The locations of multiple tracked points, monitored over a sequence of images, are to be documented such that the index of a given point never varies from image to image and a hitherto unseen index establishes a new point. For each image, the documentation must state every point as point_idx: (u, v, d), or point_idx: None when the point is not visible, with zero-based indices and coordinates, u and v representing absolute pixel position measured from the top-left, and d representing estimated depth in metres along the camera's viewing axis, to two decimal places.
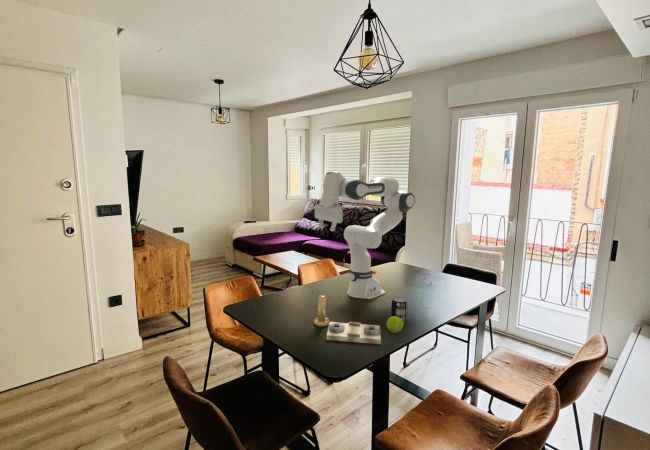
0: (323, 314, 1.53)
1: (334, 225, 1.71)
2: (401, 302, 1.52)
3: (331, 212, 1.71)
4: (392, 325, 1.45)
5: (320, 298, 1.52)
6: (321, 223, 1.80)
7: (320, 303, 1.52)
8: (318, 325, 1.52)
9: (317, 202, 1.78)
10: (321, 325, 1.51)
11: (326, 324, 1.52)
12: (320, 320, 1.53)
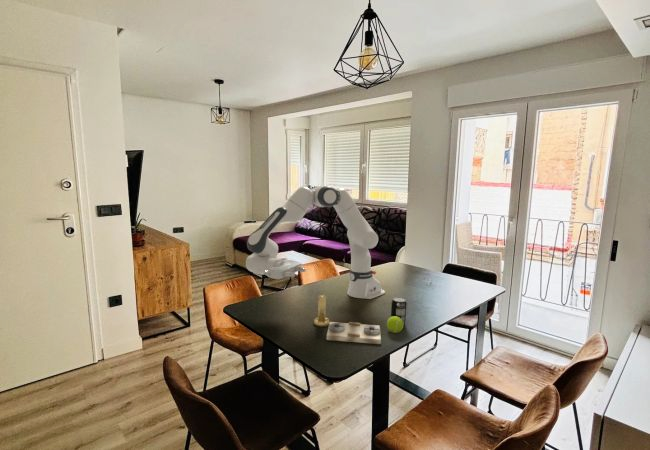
0: (323, 314, 1.53)
1: (286, 274, 1.53)
2: (401, 302, 1.52)
3: None
4: (392, 325, 1.45)
5: (320, 298, 1.52)
6: (301, 269, 1.63)
7: (320, 303, 1.52)
8: (318, 325, 1.52)
9: None
10: (321, 325, 1.51)
11: (326, 324, 1.52)
12: (320, 320, 1.53)
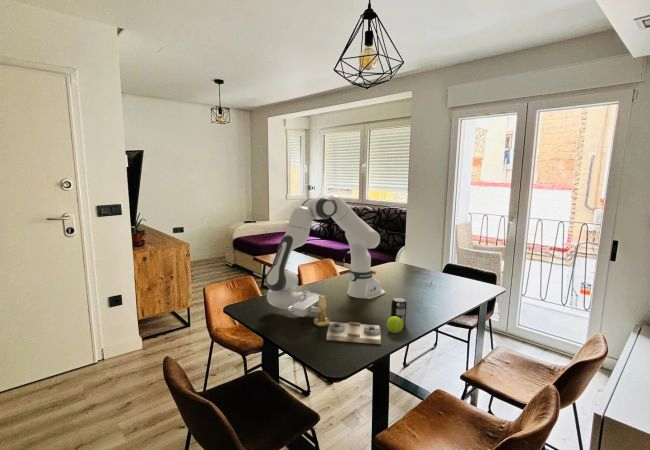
0: (323, 314, 1.53)
1: (313, 309, 1.51)
2: (401, 302, 1.52)
3: None
4: (392, 325, 1.45)
5: (320, 298, 1.52)
6: None
7: (320, 303, 1.52)
8: (318, 325, 1.52)
9: None
10: (321, 325, 1.51)
11: (326, 324, 1.52)
12: (320, 320, 1.53)
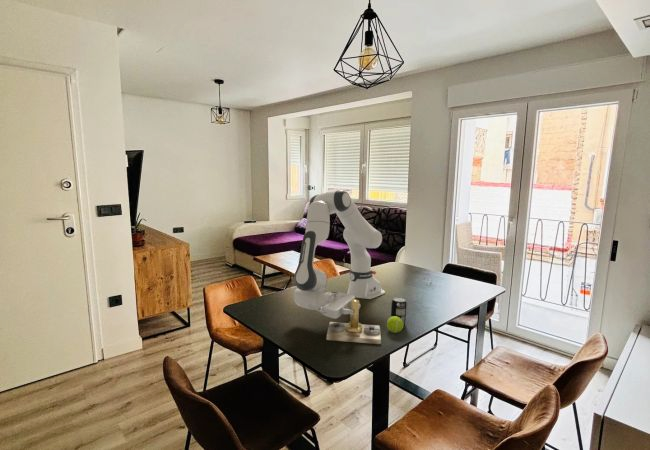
0: (356, 320, 1.43)
1: (345, 312, 1.40)
2: (401, 302, 1.52)
3: None
4: (392, 325, 1.45)
5: (353, 303, 1.42)
6: None
7: (353, 308, 1.42)
8: (350, 332, 1.42)
9: None
10: (354, 331, 1.41)
11: (359, 331, 1.42)
12: (353, 326, 1.43)
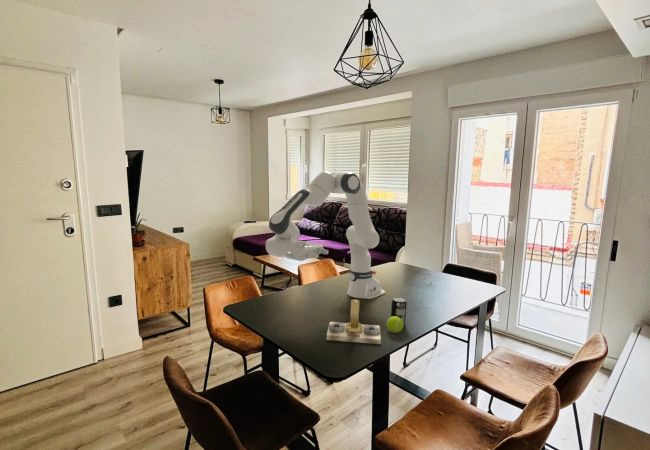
0: (356, 320, 1.43)
1: (309, 256, 1.48)
2: (401, 302, 1.52)
3: None
4: (392, 325, 1.45)
5: (353, 303, 1.42)
6: (323, 251, 1.57)
7: (353, 308, 1.42)
8: (350, 332, 1.42)
9: None
10: (354, 331, 1.41)
11: (359, 331, 1.42)
12: (353, 326, 1.43)
